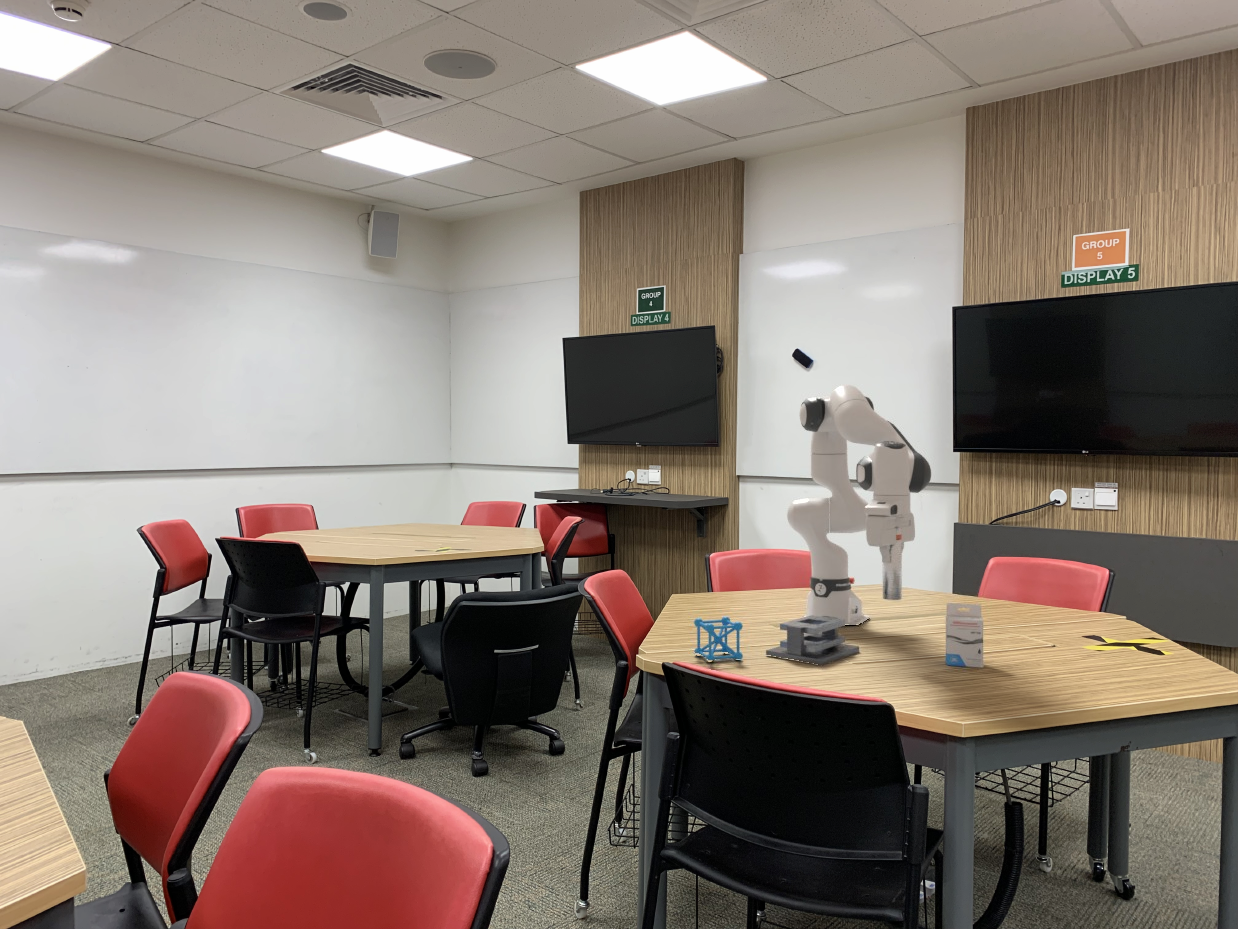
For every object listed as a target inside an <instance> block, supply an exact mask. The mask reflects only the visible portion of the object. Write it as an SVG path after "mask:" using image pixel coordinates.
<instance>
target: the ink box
mask: <svg viewBox="0 0 1238 929" xmlns="http://www.w3.org/2000/svg"><path fill="white" fill-rule="evenodd" d="M963 608H964V609H969V610H959V609H963ZM945 663H946V666H951V667H952V666H953V667H967V668H980V669H982V668H984V619H983V617H982V605H981V604H977V603H976V604H974V603H957V602H956V603H954V602H948V603H946V615H945Z"/></svg>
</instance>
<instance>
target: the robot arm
mask: <svg viewBox="0 0 1238 929" xmlns="http://www.w3.org/2000/svg"><path fill="white" fill-rule="evenodd" d="M799 420H800V424H801V426H802V428H803V429H804V430H805V431H808V432H812V434H811V441H810V476H811V479H812V481H813V482H815V483H816V484H817V485H819V486H821V487H823V488H825V489H828V490H829V491H830V493H831V495H832V496H830V497H804V498H801V499H800V498H799V499H795V500H793V501H792V502H791V503H790V504H789V506H788V508H787V509H788V510H787V514H786V516H787V517H786V518H787V521H788V524H789V526H790V527H791V528H792V529H793V530H794V531H795V532H796V533H798V534H799V536H800V537H802V539H803V540H804V541H805V543H806V545H807V546H808V550H809V554H810V561H811V562H810V564H811V576H810V580H809V588H810V589H811V590H810V591H809V592H808V593H807V595H806V597H807V598H806V608H805V615H803V616H804V617H807V616H811V615H813V616H821V617H822V616H829V617H837V618H838V619H844V620H845V624H849V625H856V624H859V623H862V622H863V621H865V620H867V619H868V618H869V617H870V618H871V616H870V615H868V614H863V604H862V600H861V599H860V598H859V597H858V596H857V595H856V594H855V592H854V591H853V590H852V585H853V584H855V577H849V557H848V556H849V555H848V552H847V550H846V549H844V548H843V547H842V546H840V545H838V544H836V543H834V542H832V541H831V540H829V539H828V537H827V535H828V534H854V533H859V532H865V534H866V536H865V537H866V542H867V544H868V545H867V546H869V547H876V548H877V547H879V548H878V550H879V552H880V555H881V563H882V564H883V563H891V556H890V553H889V549H890V545H893V544H896V541H897V540H896V528H895V527H899V526H901V534H902V539H901V546H902V553H903V551H904V549H905V543H906V542H913V541H915V537H916V528H915V526H916V525H915V517H914V514H913V513H912V511H911V493H913V494H919V493H920V492H921V491H923V490H924V489H925V488H926V487H927V486H928V485H929V483H930V481H931V478H932V469H931V465H930V463H929V461H928V460H927V458H925V457H924V455H922V454H921V453H919V452H918V451H917V450H916V449H915V448H914V447H913V445H911V443H910V442H909V441H908V439H907V438H906V437H905V435H904V434H903V433H902V432H901V431H900V430H899V428H898V427H896V425H895V424H894V423H892V422H891V421H888V420H887V419H885V418H884V417H883V416H881V415H880V414H879V413H878V412H876V411H875V409H874V403H873V401H872V400H871V399H870V397H868V396H865V395H864V394H863V392H861V391H860V390H859V389H858V388H857V387H856V386H854V385H850V384H844V385H840V386H838V387H836V388H835V389H834V390H833V391H832V392H831V394H830V395H827V396H825V395H824V396H812V397H808V398H806V399H805V400H803V402H802V403H801V405H800V408H799ZM847 441H848V442H850V443H854V444H859V445H865V446H866V445H868V446H873V447H874V450H873V451H872V452H871V453H869V455H865V456H863V457H862V458H861V459H860V460H858V462H857V463H856V472H855V473H856V474H855V475H856V482H857V484H858V486H860V488H861V489H863V490H864V491H868V492H870V493H871V492H872V494H873V496H872V498H873V499H871V501H870V502H868V501H866V500H865V499H864V498H862V497H861V496H860V495H859V494H858V493H857V491H856V490H855V489H854V487H853V485H852V483H851V479H850V476H849V475H850V474H849V467H848V465H849V464H848V444H847V443H848V442H847ZM867 621H868V620H867ZM862 624H863V623H862Z"/></svg>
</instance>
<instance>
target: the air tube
mask: <svg viewBox="0 0 1238 929" xmlns="http://www.w3.org/2000/svg"><path fill="white" fill-rule="evenodd" d="M895 528H896V540H897V541H896V544H893V545H890V549H889V553H890V556H891V563H883V562H882V599H884V600H886V601H887V600H890V601H899V600H902V599H903V597H902V596H903V591H902V590H903V587H902V586H903V585H902V582H903V580H902V576H903V574H902V573H903V572H902V560H903V559H902V558H903V557H902V556H903V552H902V546H901V539H902V534H901V526H899V527H895Z"/></svg>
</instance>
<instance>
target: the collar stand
mask: <svg viewBox="0 0 1238 929" xmlns="http://www.w3.org/2000/svg"><path fill="white" fill-rule="evenodd" d="M841 627H846V626H845V620H844V619H838V618H837V617H829V616H822V617H821V616H813V615H811V616H807V617H803V616H802V617H801V618H800V617H799V618H797V619H793V620H789V621H786V622H782V623H780V624H779V630H780V631H786V639H782V640H780V641H779V646H776V647H772V648H770V649H766V650H765V656H766V655H771V656H776V657H781V658H788V659H794V660H799V661H803V662H809V663H814V664H818V665H817V666H820V665H822V666H825V665H827V664H826V663H828V664H830V663H829V662H831V663H832V661H833V662H836V661H839V660H841V658H842V659H844V658H847V657H849V656H853V655H855V654H858V653H860V646H858V645H853V644H845V643H846V636H843V635H838V631H839V630H838V629H839V628H841ZM814 664H813V665H814ZM824 664H825V665H824Z"/></svg>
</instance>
